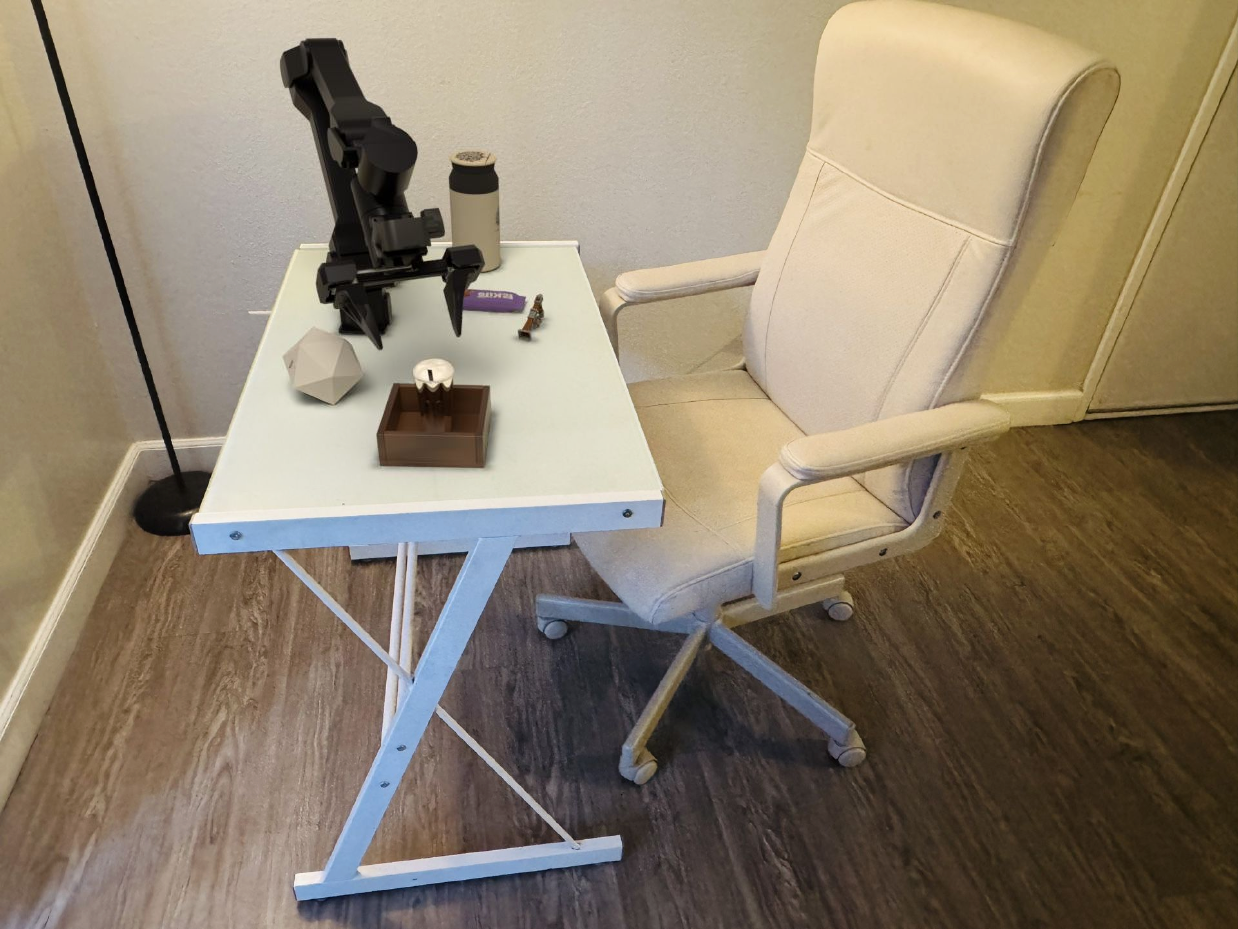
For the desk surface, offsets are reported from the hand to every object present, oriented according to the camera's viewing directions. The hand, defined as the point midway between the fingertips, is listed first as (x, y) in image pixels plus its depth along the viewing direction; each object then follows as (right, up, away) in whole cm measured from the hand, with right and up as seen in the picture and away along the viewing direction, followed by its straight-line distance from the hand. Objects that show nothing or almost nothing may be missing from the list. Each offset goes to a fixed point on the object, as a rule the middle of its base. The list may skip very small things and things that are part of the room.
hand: (420, 342), depth 99 cm
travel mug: (-1, +20, +48) cm, 52 cm away
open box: (+1, -11, +3) cm, 11 cm away
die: (-14, -5, +10) cm, 18 cm away
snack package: (+2, +10, +35) cm, 36 cm away
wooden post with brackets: (+10, +6, +28) cm, 31 cm away
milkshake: (+1, -10, +3) cm, 11 cm away
